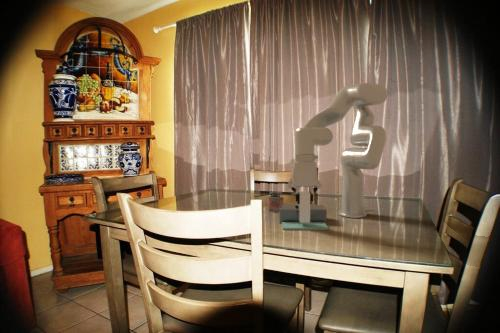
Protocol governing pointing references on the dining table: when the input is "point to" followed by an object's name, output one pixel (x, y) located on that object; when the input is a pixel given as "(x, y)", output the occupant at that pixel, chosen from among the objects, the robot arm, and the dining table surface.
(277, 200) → the lighter
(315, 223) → the mat
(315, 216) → the rail
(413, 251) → the dining table surface
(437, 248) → the dining table surface
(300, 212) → the peg
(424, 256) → the dining table surface
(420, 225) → the dining table surface
